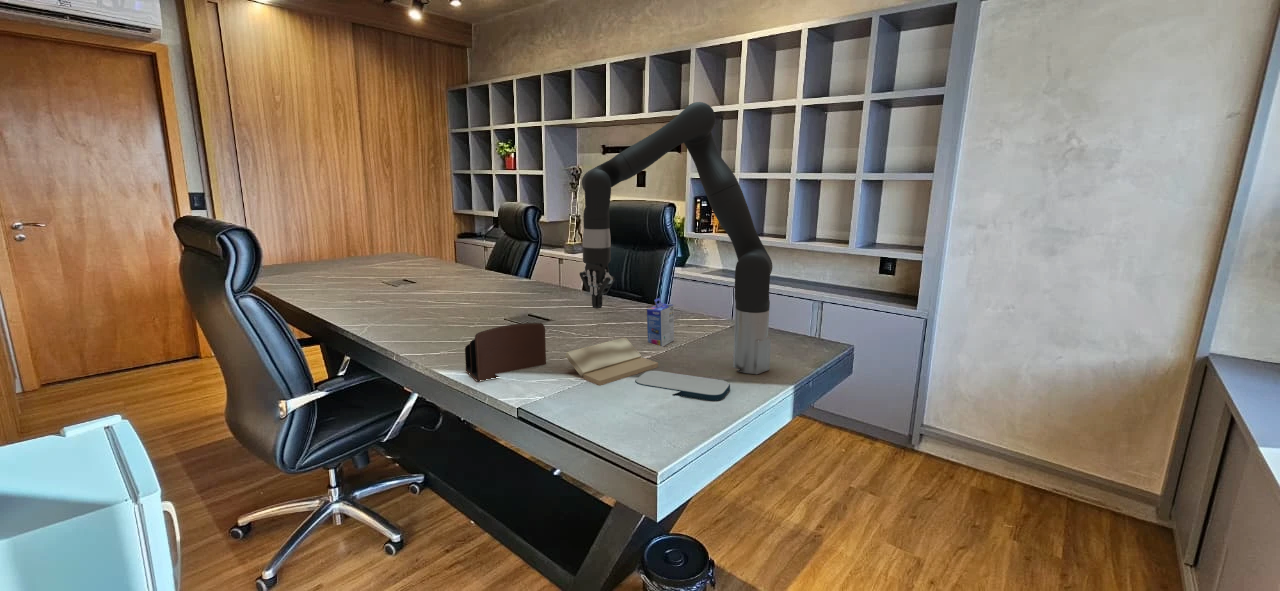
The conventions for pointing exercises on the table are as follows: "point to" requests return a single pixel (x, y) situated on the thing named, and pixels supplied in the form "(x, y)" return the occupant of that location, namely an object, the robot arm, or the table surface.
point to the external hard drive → (686, 385)
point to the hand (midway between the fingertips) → (597, 307)
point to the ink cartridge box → (660, 323)
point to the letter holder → (506, 350)
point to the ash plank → (602, 356)
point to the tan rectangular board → (620, 371)
